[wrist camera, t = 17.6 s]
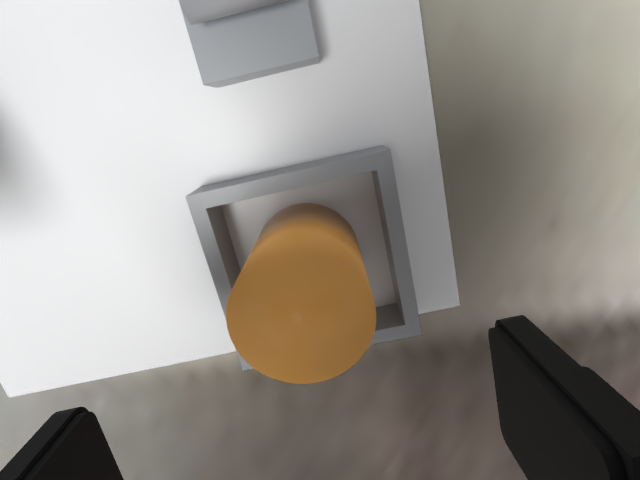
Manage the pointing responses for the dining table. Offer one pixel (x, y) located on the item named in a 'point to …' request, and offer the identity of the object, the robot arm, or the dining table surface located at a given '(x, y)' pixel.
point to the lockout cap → (302, 298)
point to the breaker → (219, 8)
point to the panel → (202, 171)
